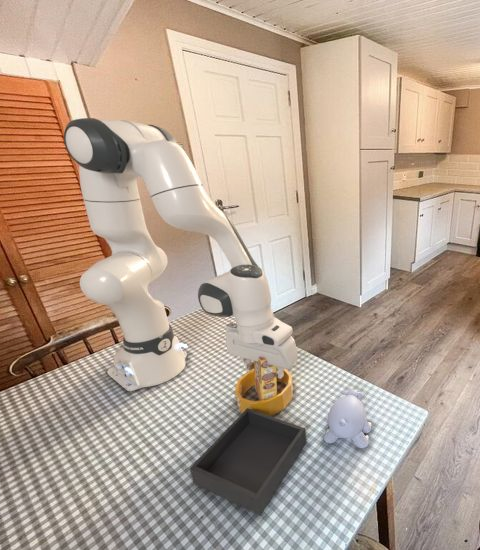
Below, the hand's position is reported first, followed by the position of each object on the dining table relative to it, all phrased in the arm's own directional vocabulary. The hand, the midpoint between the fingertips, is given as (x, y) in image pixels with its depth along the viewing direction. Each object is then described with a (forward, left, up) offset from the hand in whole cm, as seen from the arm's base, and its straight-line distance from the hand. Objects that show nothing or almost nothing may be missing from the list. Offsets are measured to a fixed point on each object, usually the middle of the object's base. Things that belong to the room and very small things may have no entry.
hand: (264, 372), depth 81 cm
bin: (+9, -17, -9) cm, 21 cm away
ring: (-1, 0, -9) cm, 9 cm away
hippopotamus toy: (+25, -1, -9) cm, 27 cm away
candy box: (-1, 0, -9) cm, 9 cm away
